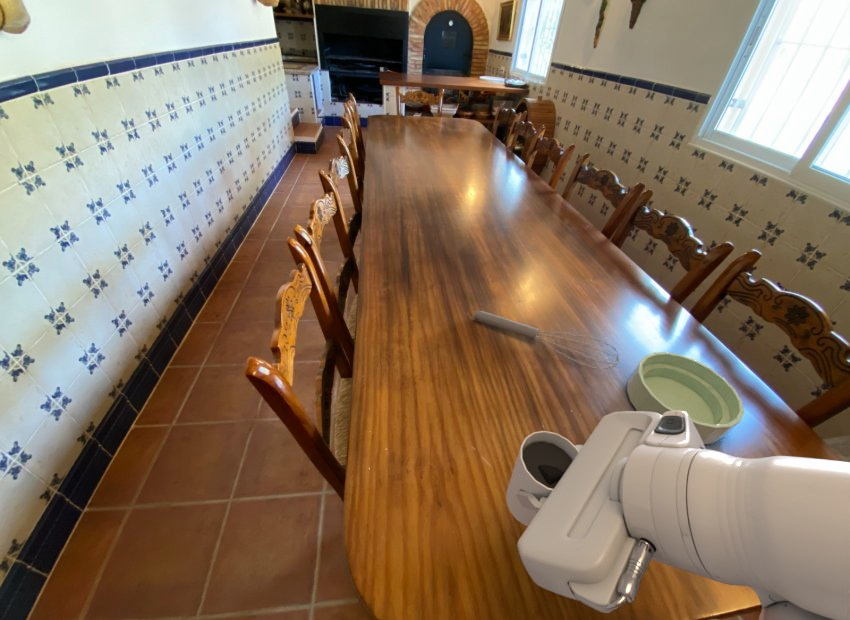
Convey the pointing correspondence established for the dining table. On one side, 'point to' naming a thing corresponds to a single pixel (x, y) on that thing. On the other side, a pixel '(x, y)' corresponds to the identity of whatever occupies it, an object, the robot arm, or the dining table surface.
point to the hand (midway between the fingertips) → (536, 476)
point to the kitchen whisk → (532, 333)
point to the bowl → (686, 393)
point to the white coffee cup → (538, 470)
